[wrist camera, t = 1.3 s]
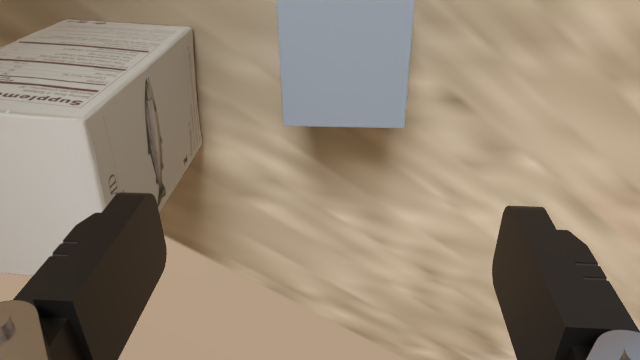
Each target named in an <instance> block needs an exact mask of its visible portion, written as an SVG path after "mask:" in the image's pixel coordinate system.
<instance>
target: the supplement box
mask: <svg viewBox="0 0 640 360" xmlns="http://www.w3.org/2000/svg"><path fill="white" fill-rule="evenodd" d="M201 145H202V137H201V130H200V122H199V114H198V104H197V93H196V81H195V66H194V49H193V29H192V27H183V26H166V25H149V24H136V23H120V22H104V21H86V20H72V19H65V20H63V21H60V22H58V23H56V24H53V25H51V26H49V27H47V28H44V29H42V30H39V31H37V32H34V33H32V34H30V35H28V36H25V37H23V38H21V39H18V40H16V41H14V42H12V43H10V44H8V45H5V46H3V47H1V48H0V273H8V274H19V275H34V274H35V273H36V272H37V271H38V269H39V268H40V267H41V266H42V265H43V264H44V262H45V261H46V260H47V259H48V258H49V256H52V253H53V252H54V250H55V249H56V248H57V247H58V246H59V244H63V240H64V239H65V237H66V236H67V235H68V234H69V233H70V231H71V230H72V229H73V228H74V227H75V225H77V224H78V223H80V222H81V221H83V220H85V219H86V218H88V217H89V216H91V215H92V214H94V213H102V211H103V210H104V209H105V208H106V206H107V205H108V204H109V203H110V201H111V200H112V199H113V198H114V196H115V195H116V194H117V193H119V192H127V193H151V194H153V195H154V196H155V198H156V201H157V205H158V210H159V213H160V211H161V210H162V208H163V207H164V205H165V204H166V202H167V200H168V199H169V197H170V196H171V194H172V192H173V191H174V189H175V188H176V186H177V184H178V183H179V181H180V179H181V178H182V176H183V175H184V173H185V172H186V170H187V168H188V167H189V165H190V163H191V162H192V160H193V159H194V157H195V155H196V154H197V152H198V150H199V149H200V147H201Z"/></svg>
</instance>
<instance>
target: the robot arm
mask: <svg viewBox="0 0 640 360" xmlns="http://www.w3.org/2000/svg"><path fill="white" fill-rule="evenodd" d="M165 262H166V244H165V239H164V234H163V229H162V224H161V220H160V215H159V210H158V205H157V201H156V198H155V196H154V195H153V194H151V193H127V192H119V193H117V194H116V195H115V196H114V198H113V199H112V200H111V201H110V203H109V204H108V205H107V206H106V208H105V209H104V210H103V211H102V213H94V214H92V215H91V216H89V217H88V218H86V219H85V220H83V221H81V222H80V223H78V224H77V225H75V227H74V228H73V229H72V230H71V231H70V233H69V234H68V235H67V236H66V237H65V239H64V240H63V244H59V246H58V247H57V248H56V249H55V250H54V252H53V253H52V256H49V258H48V259H47V260H46V261H45V262H44V264H43V265H42V266H41V267H40V268H39V269H38V271H37V272H36V273H35V274H34V275H33V277H32V278H31V279H30V280H29V281H28V283H27V284H26V285H25V286H24V287H23V289H22V290H21V291H20V292H19V293H18V295H17V296H16V297H15V298H14V299H13V300H10V301H3V302H0V360H118V358H119V356H120V354H121V352H122V350H123V348H124V346H125V345H126V343H127V341H128V339H129V337H130V335H131V333H132V331H133V329H134V327H135V325H136V323H137V321H138V319H139V317H140V315H141V314H142V312H143V310H144V308H145V306H146V304H147V302H148V300H149V298H150V296H151V294H152V292H153V290H154V288H155V286H156V284H157V283H158V281H159V279H160V277H161V275H162V273H163V270H164V267H165ZM492 276H493V284H494V289H495V292H496V295H497V298H498V301H499V304H500V307H501V311H502V314H503V317H504V320H505V323H506V326H507V329H508V332H509V336H510V339H511V342H512V345H513V348H514V351H515V354H516V357H517V360H640V331H639V330H638V328H637V326H636V325H635V323H634V321H633V320H632V318H631V316H630V315H629V313H628V312H627V310H626V308H625V307H624V305H623V303H622V302H621V300H620V299H619V297H618V295H617V294H616V292H615V290H614V289H613V287H612V285H611V284H610V282H609V281H607V280H606V278H607V277H606V276H605V274H604V272H603V271H602V269H601V267H600V266H598V263H597V261H596V259H595V258H594V256H593V254H592V253H591V251H590V250H589V248H588V246H587V245H586V244H584V243H583V242H582V241H581V240H579V239H578V238H577V237H576V236H574V235H573V234H572V233H571V232H569V231H568V230H556V228H555V226H554V224H553V223H552V221H551V219H550V217H549V215H548V213H547V212H546V210H545V209H544V208H543V207H528V206H507V207H506V208H505V210H504V212H503V216H502V221H501V225H500V230H499V235H498V240H497V244H496V249H495V254H494V258H493V266H492Z"/></svg>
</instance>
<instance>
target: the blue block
mask: <svg viewBox="0 0 640 360" xmlns="http://www.w3.org/2000/svg"><path fill="white" fill-rule="evenodd" d="M413 14H414V0H277V15H278V33H279V51H280V70H281V88H282V106H283V124H284V126H317V127H368V128H404V127H405V114H406V102H407V89H408V77H409V64H410V51H411V39H412V26H413Z"/></svg>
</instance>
